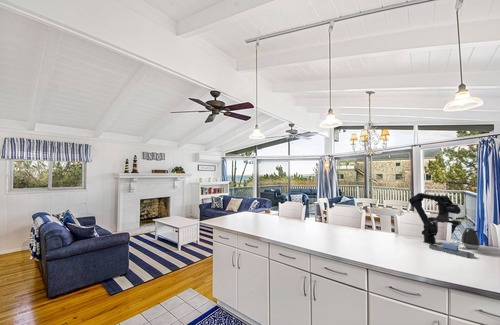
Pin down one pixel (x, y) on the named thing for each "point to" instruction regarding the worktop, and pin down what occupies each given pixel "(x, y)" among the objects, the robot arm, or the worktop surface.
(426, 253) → the worktop surface
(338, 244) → the worktop surface
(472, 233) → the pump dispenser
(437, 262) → the worktop surface
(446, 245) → the blue notched pillar
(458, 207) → the robot arm
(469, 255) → the rail
